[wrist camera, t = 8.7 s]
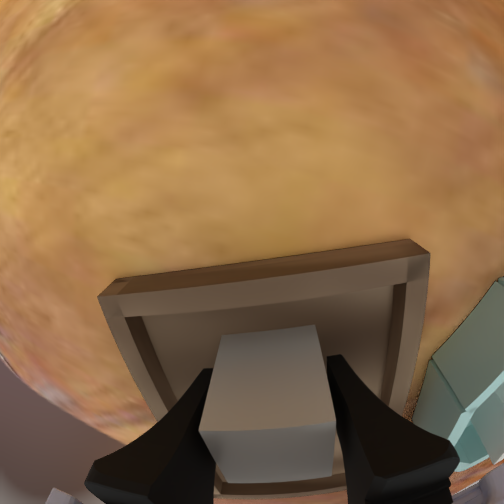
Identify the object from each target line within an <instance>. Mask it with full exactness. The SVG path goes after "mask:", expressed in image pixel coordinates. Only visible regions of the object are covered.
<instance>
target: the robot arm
mask: <svg viewBox="0 0 504 504" xmlns="http://www.w3.org/2000/svg"><path fill="white" fill-rule="evenodd" d="M213 369H214V368H203V370H202V371H201V372H200V373H199V375H198V376H197V377H196V379H195V380H194V381H193V383H192V384H191V385H190V387H189V388H188V389H187V391H186V392H185V393H184V394H183V396H182V397H181V398H180V399H179V400H178V402H177V403H176V404H175V405H174V406H173V407H172V408H171V409H170V410H169V412H168V413H167V414H166V415H165V416H164V417H163V418H162V419H161V420H160V421H159V422H157V423H156V424H155V425H154V426H153V427H152V428H151V429H149V430H148V431H147V432H145V433H144V434H143V435H141V436H140V437H138V438H137V439H136V440H134V441H133V442H131V443H130V444H128V445H126V446H125V447H123V448H121V449H119V450H117V451H115V452H114V453H111V454H110V455H107V456H105V457H103V458H100V459H98V460H95V461H94V463H93V465H92V467H91V469H90V471H89V473H88V476H87V478H86V480H85V483H84V484H85V486H86V488H87V489H88V490H89V491H90V492H91V493H93V494H94V495H95V496H96V497H97V498H99V499H100V500H101V501H103V502H104V503H106V504H213V498H214V481H215V469H216V462H215V460H214V458H213V456H212V455H211V453H210V451H209V449H208V447H207V446H206V444H205V442H204V440H203V438H202V436H201V434H200V432H199V426H200V422H201V418H202V414H203V410H204V406H205V402H206V397H207V393H208V389H209V385H210V381H211V377H212V373H213ZM327 379H328V384H329V388H330V393H331V398H332V403H333V407H334V412H335V417H336V431H337V435H338V438H339V442H340V446H341V450H342V455H343V462H344V469H345V477H346V485H347V495H348V504H504V463H503V464H501V465H500V466H498V467H496V468H495V469H493V470H491V471H490V472H488V473H487V474H486V475H485V476H484V477H482V479H481V480H480V481H479V482H478V483H477V484H475V485H473V486H471V487H469V488H467V489H465V490H463V491H461V492H459V493H457V494H455V495H453V496H451V493H450V490H449V487H450V486H451V483H450V480H449V477H450V476H451V474H452V473H453V472H454V471H455V469H456V468H457V466H458V465H459V463H460V458H459V455H458V453H457V451H456V449H455V448H454V446H453V445H452V443H451V442H450V440H448V439H445V438H442V437H440V436H437V435H435V434H432V433H430V432H428V431H426V430H424V429H422V428H420V427H418V426H417V425H415V424H413V423H412V422H410V421H408V420H407V419H405V418H404V417H402V416H401V415H399V414H398V413H396V412H395V411H394V410H392V409H391V408H390V407H389V406H387V405H386V404H385V403H384V402H383V401H382V400H381V399H379V398H378V397H377V396H376V395H375V394H374V393H373V392H372V391H371V390H370V389H369V388H368V387H367V386H366V385H365V383H364V382H363V381H362V380H361V379H360V378H359V377H358V375H357V374H356V373H355V372H354V370H353V369H352V368H351V367H350V365H349V364H348V363H347V361H346V360H345V358H344V357H343V355H341V354H338V355H332V356H327ZM45 504H83V503H82V502H80V501H79V500H78V499H76V498H75V497H73V496H71V495H69V494H67V493H65V492H63V491H60V490H58V489H56V488H53V489H52V491H51V493H50V495H49V497H48V499H47V501H46V503H45Z"/></svg>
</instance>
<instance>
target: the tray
mask: <svg viewBox="0 0 504 504" xmlns="http://www.w3.org/2000/svg"><path fill="white" fill-rule="evenodd" d="M429 268H430V253H429V252H428V251H427V250H425V249H424V248H422V247H421V246H420V245H418V244H417V243H415V242H414V241H412V240H411V239H407V240H400V241H394V242H387V243H380V244H373V245H366V246H359V247H352V248H345V249H338V250H331V251H324V252H317V253H310V254H303V255H296V256H288V257H281V258H274V259H267V260H259V261H252V262H244V263H237V264H229V265H222V266H214V267H207V268H199V269H191V270H184V271H176V272H168V273H160V274H152V275H144V276H136V277H128V278H120V279H116V280H114V281H113V282H112V283H111V284H110V285H109V286H108V287H107V288H106V289H105V290H104V291H103V292H102V293H100V294H99V295H98V296H97V298H98V300H99V303H100V306H101V308H102V311H103V313H104V316H105V318H106V321H107V323H108V325H109V328H110V330H111V333H112V335H113V337H114V339H115V342H116V344H117V346H118V348H119V350H120V352H121V355H122V357H123V359H124V361H125V363H126V365H127V367H128V369H129V371H130V373H131V375H132V377H133V379H134V381H135V383H136V385H137V386H138V388H139V390H140V392H141V394H142V396H143V397H144V399H145V401H146V403H147V405H148V406H149V408H150V410H151V411H152V413H153V415H154V417H155V418H156V420H157V422H159V421H160V420H161V419H162V418H163V417H164V416H165V415H166V414H167V413H168V412H169V410H170V409H171V408H172V407H173V406H174V405H175V404H176V403H177V402H178V400H179V399H180V398H181V397H182V396H183V394H184V393H185V392H186V391H187V389H188V388H189V387H190V385H191V384H192V383H193V381H194V380H195V379H196V377H197V376H198V375H199V373H200V372H201V371H202V370H203V368H214V365H215V361H216V357H217V353H218V349H219V345H220V341H221V337H222V335H230V334H241V333H251V332H260V331H269V330H278V329H286V328H294V327H301V326H308V325H315V327H316V331H317V335H318V339H319V344H320V348H321V352H322V357H323V361H324V365H325V370H326V374H327V356H332V355H338V354H341V355H343V357H344V358H345V360H346V361H347V363H348V364H349V365H350V367H351V368H352V369H353V370H354V372H355V373H356V374H357V375H358V377H359V378H360V379H361V380H362V381H363V382H364V383H365V385H366V386H367V387H368V388H369V389H370V390H371V391H372V392H373V393H374V394H375V395H376V396H377V397H378V398H379V399H381V400H382V401H383V402H384V403H385V404H386V405H387V406H389V407H390V408H391V409H392V410H394V411H395V412H396V413H398V414H399V415H401V416H402V414H403V411H404V407H405V404H406V401H407V397H408V393H409V390H410V386H411V382H412V378H413V373H414V369H415V365H416V360H417V355H418V350H419V345H420V340H421V334H422V328H423V322H424V315H425V307H426V299H427V290H428V280H429ZM343 490H347V485H346V477H345V469H344V462H343V455H342V450H341V446H340V442H339V438H338V435H337V431H336V432H335V445H334V457H333V467H332V476H329V477H322V478H315V479H307V480H298V481H287V482H271V483H228V482H227V480H226V479H225V477H224V475H223V474H222V472H221V470H220V469H219V467H218V465H217V463H216V469H215V481H214V498H221V499H275V498H290V497H301V496H310V495H318V494H325V493H332V492H338V491H343Z"/></svg>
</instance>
